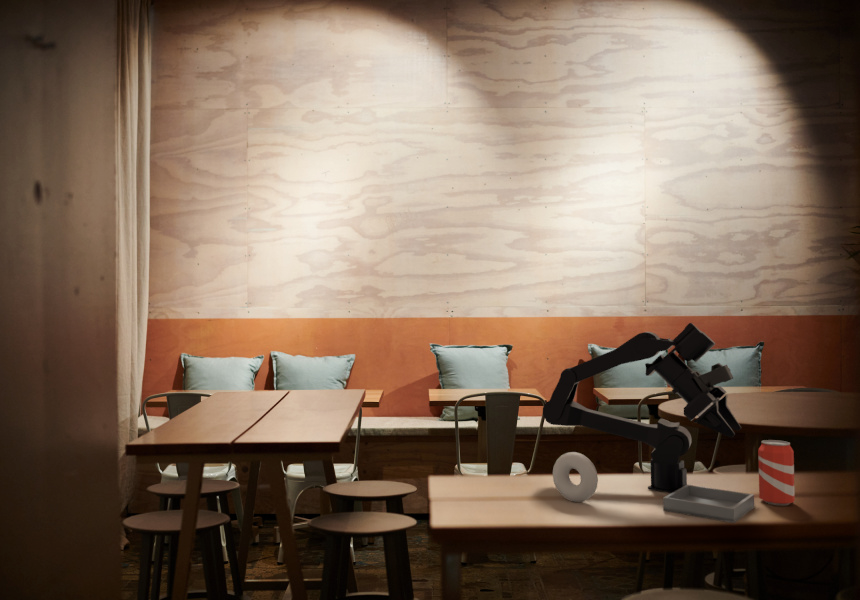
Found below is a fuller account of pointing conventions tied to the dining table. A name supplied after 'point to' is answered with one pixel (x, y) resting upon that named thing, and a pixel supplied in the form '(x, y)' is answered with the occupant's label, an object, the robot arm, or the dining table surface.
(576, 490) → the donut
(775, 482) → the beverage can
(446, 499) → the dining table surface
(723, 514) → the tray
